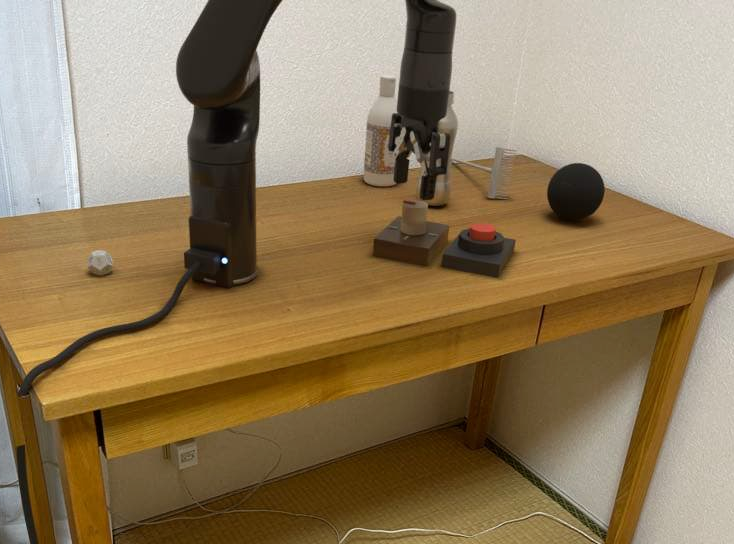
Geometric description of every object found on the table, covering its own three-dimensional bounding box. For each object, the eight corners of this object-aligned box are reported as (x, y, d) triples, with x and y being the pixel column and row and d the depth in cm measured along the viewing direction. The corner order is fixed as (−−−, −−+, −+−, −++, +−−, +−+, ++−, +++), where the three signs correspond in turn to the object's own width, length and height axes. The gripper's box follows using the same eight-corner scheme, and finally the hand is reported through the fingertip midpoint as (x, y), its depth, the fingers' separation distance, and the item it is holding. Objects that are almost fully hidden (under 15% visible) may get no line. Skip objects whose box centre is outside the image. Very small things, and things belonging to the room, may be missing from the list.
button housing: (498, 278, 125) (501, 253, 123) (441, 267, 127) (444, 242, 125) (513, 252, 134) (517, 228, 132) (460, 242, 137) (463, 219, 135)
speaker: (593, 212, 154) (605, 158, 149) (602, 230, 146) (614, 174, 141) (540, 207, 155) (549, 154, 150) (545, 225, 146) (556, 169, 141)
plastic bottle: (455, 203, 155) (469, 92, 144) (439, 212, 150) (452, 97, 139) (425, 196, 157) (436, 86, 147) (408, 204, 152) (418, 91, 142)
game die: (117, 274, 119) (115, 255, 117) (92, 279, 117) (89, 259, 115) (109, 266, 121) (107, 246, 120) (84, 270, 119) (82, 250, 118)
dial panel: (427, 267, 127) (429, 247, 126) (372, 256, 130) (373, 237, 128) (447, 242, 137) (449, 224, 135) (396, 233, 139) (398, 215, 138)
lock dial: (427, 229, 133) (431, 200, 130) (421, 237, 130) (424, 207, 127) (404, 225, 134) (406, 196, 131) (397, 233, 131) (400, 203, 128)
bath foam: (376, 189, 159) (384, 80, 149) (356, 179, 164) (362, 73, 154) (404, 184, 163) (414, 78, 152) (384, 175, 168) (392, 71, 157)
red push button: (491, 244, 127) (492, 233, 126) (466, 239, 128) (467, 229, 127) (496, 236, 130) (498, 225, 129) (472, 231, 131) (473, 221, 130)
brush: (459, 181, 183) (466, 137, 180) (507, 200, 158) (517, 149, 155) (443, 180, 182) (450, 135, 179) (489, 198, 157) (498, 147, 154)
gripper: (472, 92, 116) (456, 203, 125) (423, 72, 127) (411, 175, 136) (426, 93, 113) (413, 207, 122) (380, 73, 124) (371, 179, 133)
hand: (412, 190), depth 129 cm, fingers open, 8 cm apart
